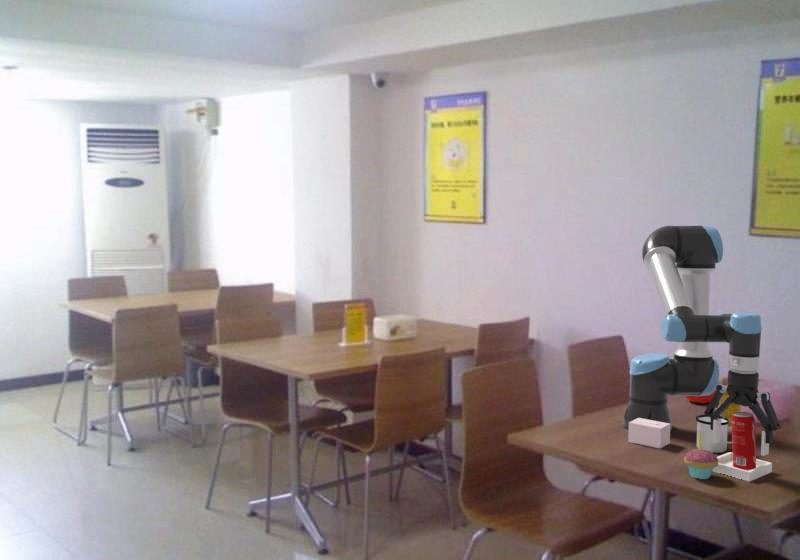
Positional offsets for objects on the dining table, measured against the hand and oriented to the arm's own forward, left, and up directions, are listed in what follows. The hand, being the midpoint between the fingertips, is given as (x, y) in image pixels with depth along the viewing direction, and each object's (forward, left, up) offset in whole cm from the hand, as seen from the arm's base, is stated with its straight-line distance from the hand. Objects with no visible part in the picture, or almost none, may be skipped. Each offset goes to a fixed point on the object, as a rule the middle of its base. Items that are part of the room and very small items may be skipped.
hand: (739, 448), depth 215 cm
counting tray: (0, 0, -6) cm, 6 cm away
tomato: (-47, +60, -7) cm, 76 cm away
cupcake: (-4, -12, -6) cm, 14 cm away
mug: (-14, +13, -6) cm, 20 cm away
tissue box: (-30, +3, -6) cm, 31 cm away
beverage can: (+1, 0, -5) cm, 6 cm away
